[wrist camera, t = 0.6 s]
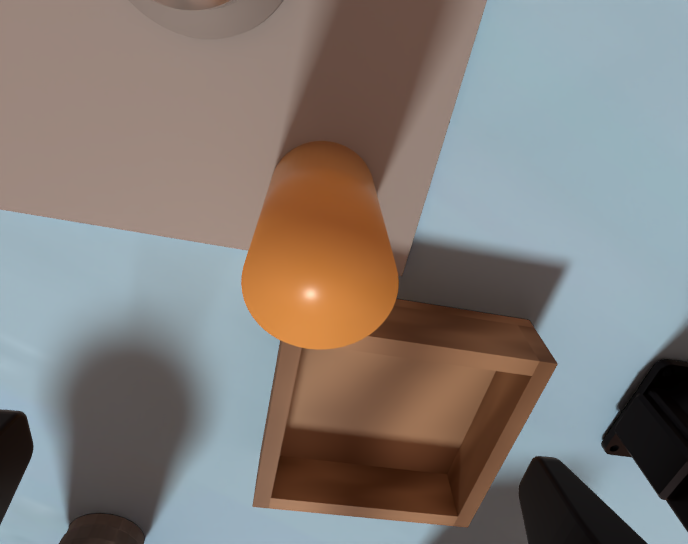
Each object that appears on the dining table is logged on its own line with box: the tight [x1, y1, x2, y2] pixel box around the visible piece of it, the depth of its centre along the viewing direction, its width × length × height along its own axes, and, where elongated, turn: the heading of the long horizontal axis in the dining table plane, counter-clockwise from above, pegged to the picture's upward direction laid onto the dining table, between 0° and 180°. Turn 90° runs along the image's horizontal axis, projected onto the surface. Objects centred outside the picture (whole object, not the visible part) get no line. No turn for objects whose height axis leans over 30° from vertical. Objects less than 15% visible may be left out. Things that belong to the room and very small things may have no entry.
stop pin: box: [241, 141, 399, 350], centre depth 15 cm, size 4×4×7 cm
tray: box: [253, 299, 557, 527], centre depth 22 cm, size 11×11×3 cm
